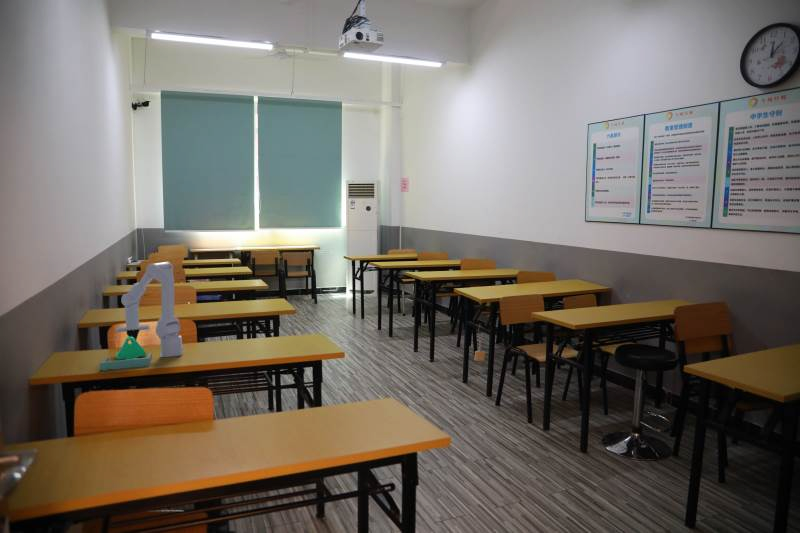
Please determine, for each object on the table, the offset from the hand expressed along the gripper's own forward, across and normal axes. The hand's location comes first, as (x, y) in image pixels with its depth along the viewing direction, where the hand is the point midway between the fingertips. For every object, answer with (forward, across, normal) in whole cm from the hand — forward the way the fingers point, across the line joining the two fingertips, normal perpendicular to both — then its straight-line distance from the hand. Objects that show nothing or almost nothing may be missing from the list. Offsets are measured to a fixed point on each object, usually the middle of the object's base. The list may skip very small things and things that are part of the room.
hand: (134, 345), depth 263 cm
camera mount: (+3, 0, +13) cm, 13 cm away
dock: (+3, 0, +24) cm, 24 cm away
